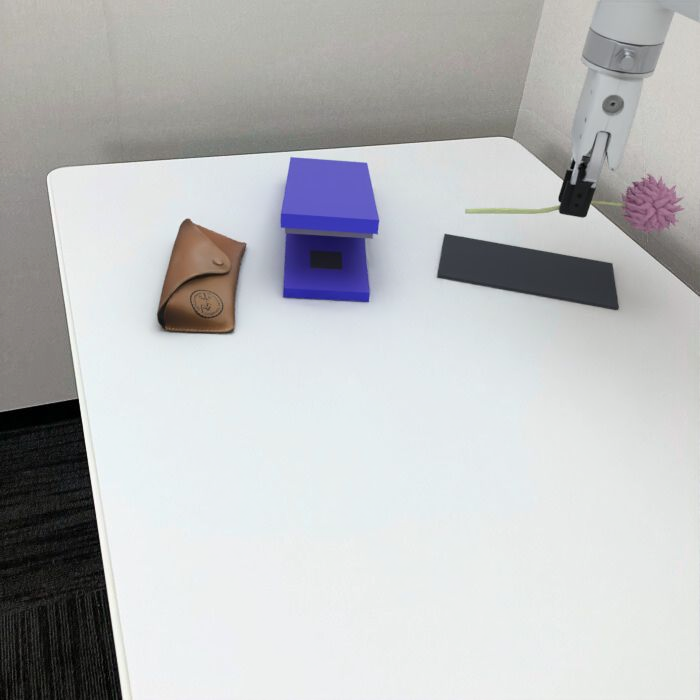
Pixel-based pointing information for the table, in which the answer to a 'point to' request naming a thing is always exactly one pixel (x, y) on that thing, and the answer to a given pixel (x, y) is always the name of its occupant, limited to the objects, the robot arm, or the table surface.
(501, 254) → the runner
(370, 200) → the stapler
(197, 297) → the sunglasses case
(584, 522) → the table surface
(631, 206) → the artificial flower
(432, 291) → the table surface
